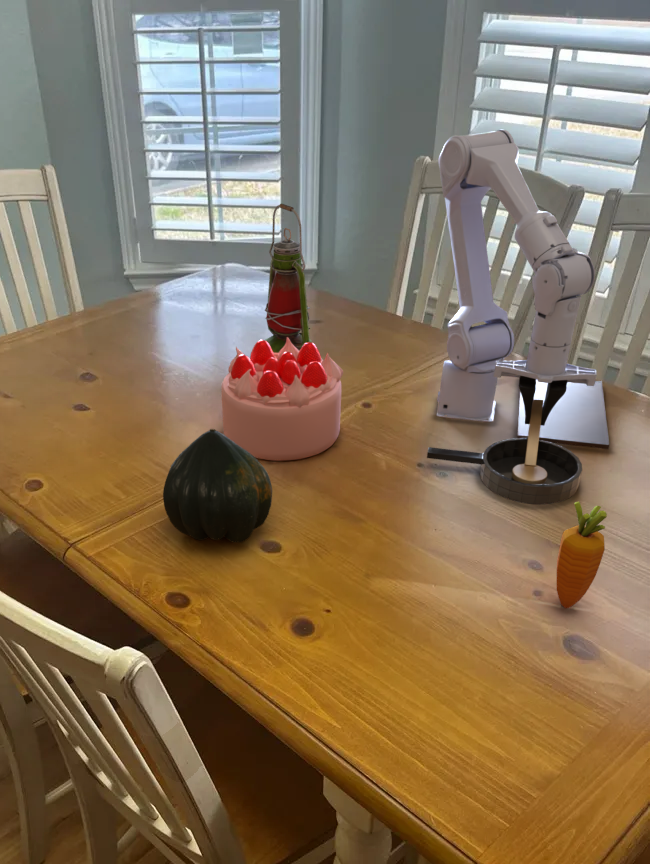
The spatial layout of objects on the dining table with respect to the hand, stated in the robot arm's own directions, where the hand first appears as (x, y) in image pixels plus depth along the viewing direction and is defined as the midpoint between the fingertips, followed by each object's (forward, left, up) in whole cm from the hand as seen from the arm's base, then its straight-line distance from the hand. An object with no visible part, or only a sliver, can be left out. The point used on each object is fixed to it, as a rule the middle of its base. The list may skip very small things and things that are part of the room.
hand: (534, 421), depth 129 cm
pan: (0, -10, -5) cm, 11 cm away
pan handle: (-11, -10, -3) cm, 15 cm away
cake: (-40, -4, -5) cm, 41 cm away
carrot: (+5, -39, -5) cm, 39 cm away
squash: (-42, -33, -5) cm, 53 cm away
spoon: (0, -5, -4) cm, 7 cm away
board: (+5, +14, -5) cm, 16 cm away
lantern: (-46, +23, -5) cm, 52 cm away
